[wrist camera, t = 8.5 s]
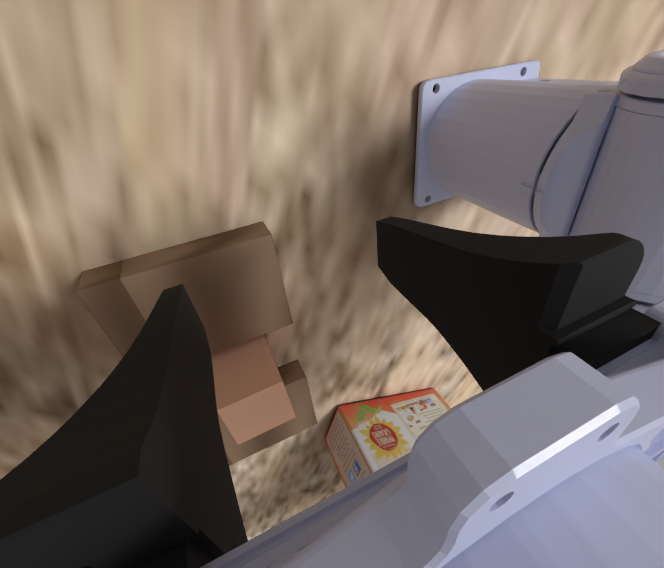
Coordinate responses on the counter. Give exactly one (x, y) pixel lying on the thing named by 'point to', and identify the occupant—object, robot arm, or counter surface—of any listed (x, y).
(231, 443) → the notched board
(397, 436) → the cracker box
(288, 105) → the counter surface
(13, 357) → the counter surface
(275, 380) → the terracotta plug
